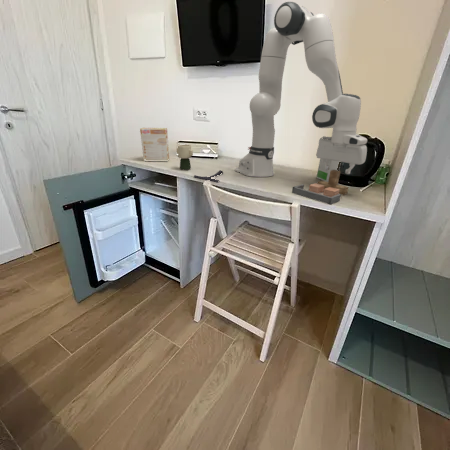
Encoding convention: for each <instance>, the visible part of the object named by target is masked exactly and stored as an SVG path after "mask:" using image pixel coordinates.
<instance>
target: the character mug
mask: <svg viewBox="0 0 450 450" xmlns="http://www.w3.org/2000/svg"><path fill="white" fill-rule="evenodd" d="M176 154H177V157H178V158H180V160H179V169H180V168H181V169H180V170H183V169H184V170H187V169H188V170H191V169H192V166H191V160H190V158H191V157H192V156H194V150H193V149H192V145H190V144H178V145H177V147H176ZM190 168H191V169H190Z"/></svg>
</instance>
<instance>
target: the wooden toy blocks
mask: <svg viewBox="0 0 450 450" xmlns="http://www.w3.org/2000/svg"><path fill="white" fill-rule="evenodd" d="M340 176H341V170H339V171H338V170H331V171H330V176H329V181H328V182H326V181H323V180H318V181H317V183H316V184H320V185H324V189H326V188H328V187H332V188H336V189H340V191H339V194H340V195H341V196H345V195H347V194H348V193H349V192H348V191H349V186H346V185H345V186H344V185H341V184H339V179H340Z"/></svg>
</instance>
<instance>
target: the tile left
mask: <svg viewBox="0 0 450 450" xmlns="http://www.w3.org/2000/svg"><path fill="white" fill-rule="evenodd" d="M308 191H311V192H315V193H318V194H321V193H324V185H320V184H317V183H312V184H309V186H308Z"/></svg>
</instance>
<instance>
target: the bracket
mask: <svg viewBox="0 0 450 450" xmlns="http://www.w3.org/2000/svg"><path fill="white" fill-rule="evenodd" d="M221 173H222V175H224V172H223V170H220V169H219V171H217V172H216V173H214V174H213V175H209V176H210V177H207V176H202V175H201V176H200V175H195V174H194V175H193V179H198V180H203V181H207V180H210V181H209V182H213V183H219V182H220V180H219V179H216V178H215V179H216V180H215V179H211V177H214V176H217V175H219V176H221V175H220V174H221ZM217 177H218V176H217ZM218 181H219V182H218Z"/></svg>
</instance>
